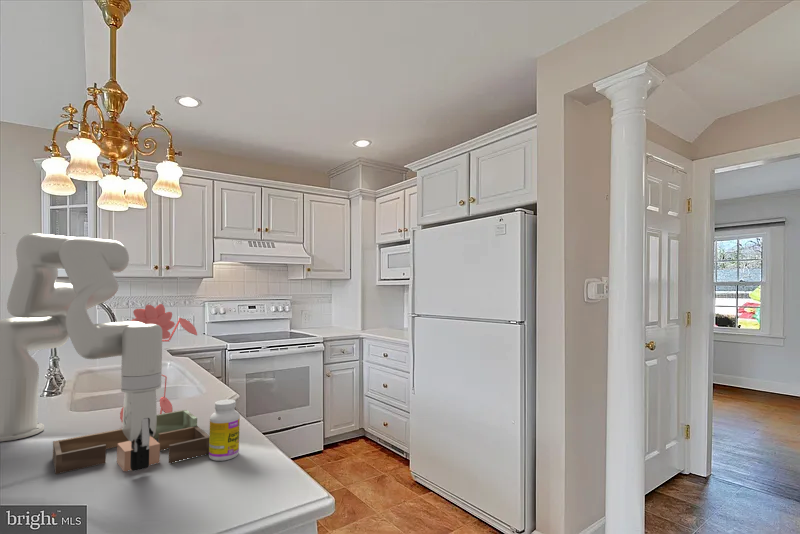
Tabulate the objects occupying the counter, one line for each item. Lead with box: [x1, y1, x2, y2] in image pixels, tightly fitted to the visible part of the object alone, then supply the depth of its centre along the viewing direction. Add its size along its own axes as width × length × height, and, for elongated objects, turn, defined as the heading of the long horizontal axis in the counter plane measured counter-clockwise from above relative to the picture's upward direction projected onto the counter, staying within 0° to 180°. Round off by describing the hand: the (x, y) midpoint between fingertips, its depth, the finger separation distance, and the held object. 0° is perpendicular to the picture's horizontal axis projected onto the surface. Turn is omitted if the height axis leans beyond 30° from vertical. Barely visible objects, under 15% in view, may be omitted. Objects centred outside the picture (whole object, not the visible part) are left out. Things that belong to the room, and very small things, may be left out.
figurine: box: [119, 303, 198, 423], centre depth 129 cm, size 15×26×35 cm, turn 133°
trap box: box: [52, 409, 210, 475], centre depth 104 cm, size 21×29×6 cm
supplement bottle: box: [208, 398, 241, 462], centre depth 104 cm, size 7×7×13 cm
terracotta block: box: [116, 436, 161, 472], centre depth 101 cm, size 7×7×4 cm
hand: (139, 468), depth 94 cm, fingers closed
